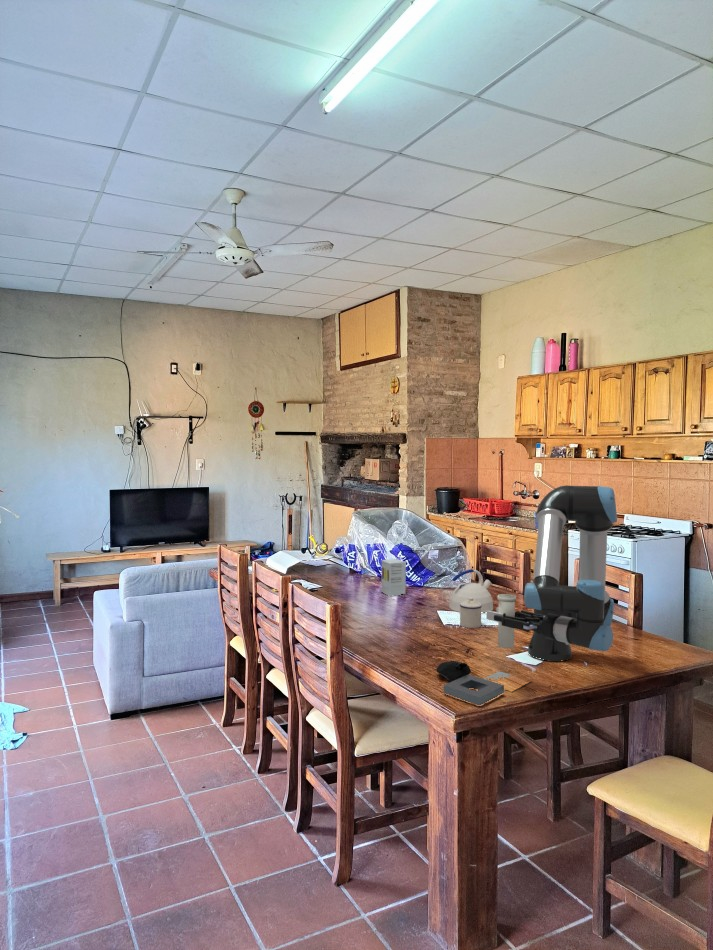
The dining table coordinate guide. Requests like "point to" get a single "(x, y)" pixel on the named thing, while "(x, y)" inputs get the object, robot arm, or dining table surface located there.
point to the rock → (453, 670)
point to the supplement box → (393, 577)
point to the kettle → (472, 593)
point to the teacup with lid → (470, 613)
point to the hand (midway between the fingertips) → (492, 613)
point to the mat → (498, 675)
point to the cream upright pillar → (509, 608)
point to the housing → (462, 691)
